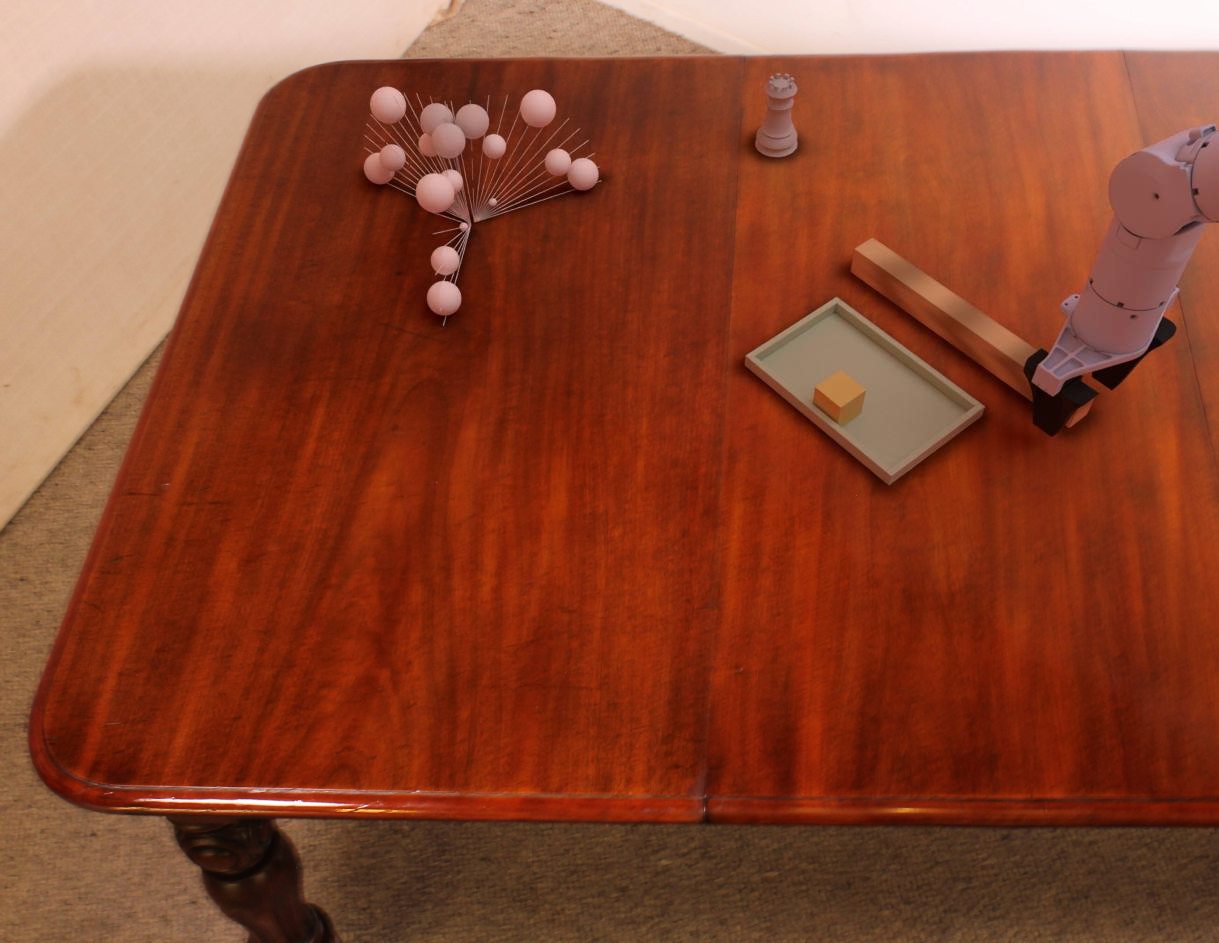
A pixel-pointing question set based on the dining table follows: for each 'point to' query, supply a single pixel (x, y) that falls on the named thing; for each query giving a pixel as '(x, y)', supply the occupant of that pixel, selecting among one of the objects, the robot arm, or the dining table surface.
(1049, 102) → the dining table surface
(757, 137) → the rook chess piece
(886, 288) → the stick
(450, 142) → the decorative flower
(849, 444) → the dish
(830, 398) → the cheese cube
